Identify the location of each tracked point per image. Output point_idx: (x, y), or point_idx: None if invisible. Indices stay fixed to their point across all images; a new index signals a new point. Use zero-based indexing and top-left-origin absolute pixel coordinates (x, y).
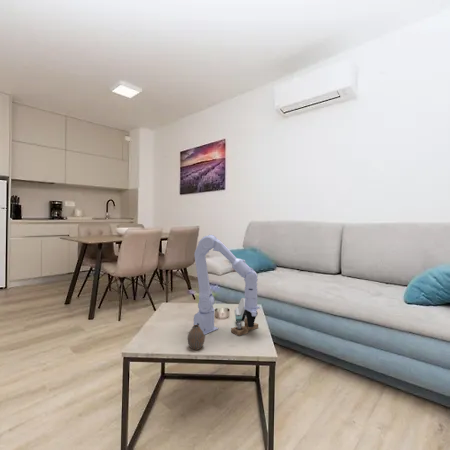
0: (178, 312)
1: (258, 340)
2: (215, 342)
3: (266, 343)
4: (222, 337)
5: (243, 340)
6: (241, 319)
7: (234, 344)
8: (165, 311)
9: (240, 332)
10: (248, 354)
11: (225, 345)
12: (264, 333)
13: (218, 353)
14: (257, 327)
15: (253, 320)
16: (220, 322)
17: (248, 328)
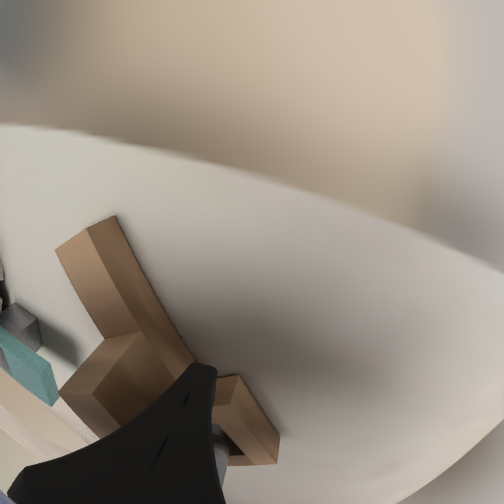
0: (22, 436)
1: (429, 344)
2: (313, 498)
3: (499, 300)
4: (266, 481)
5: (364, 429)
6: (43, 372)
7: (382, 463)
8: (29, 449)
9: (271, 447)
10: (500, 419)
11: (366, 483)
12: (297, 210)
13: (410, 491)
14: (116, 230)
15: (201, 445)
16: (55, 404)
17: (179, 367)
